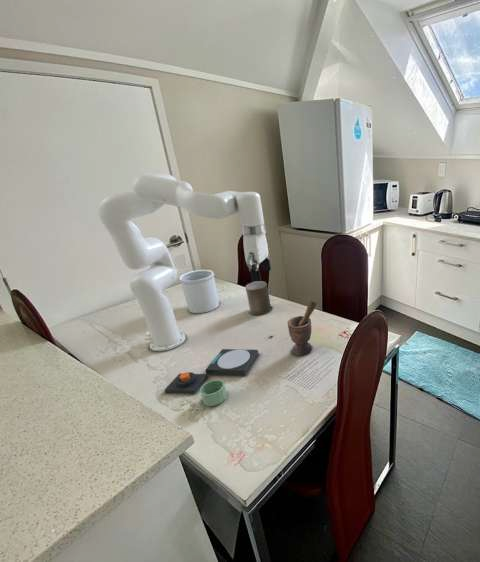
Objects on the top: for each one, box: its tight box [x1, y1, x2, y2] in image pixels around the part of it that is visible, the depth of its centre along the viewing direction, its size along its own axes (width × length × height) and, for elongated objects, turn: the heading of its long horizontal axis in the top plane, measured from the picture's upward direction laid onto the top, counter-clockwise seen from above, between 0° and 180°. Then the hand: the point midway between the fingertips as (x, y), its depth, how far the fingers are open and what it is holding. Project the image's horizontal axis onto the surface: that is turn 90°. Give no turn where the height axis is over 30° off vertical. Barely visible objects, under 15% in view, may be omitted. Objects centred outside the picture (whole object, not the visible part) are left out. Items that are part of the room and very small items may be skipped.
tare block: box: [164, 371, 209, 395], centre depth 105 cm, size 10×8×3 cm
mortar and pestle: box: [287, 299, 317, 356], centre depth 120 cm, size 12×9×20 cm
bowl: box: [199, 379, 228, 407], centre depth 98 cm, size 7×7×5 cm
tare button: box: [180, 372, 190, 382], centre depth 104 cm, size 3×3×2 cm
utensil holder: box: [178, 269, 220, 314], centre depth 153 cm, size 15×15×18 cm
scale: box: [205, 348, 260, 377], centre depth 114 cm, size 14×12×3 cm
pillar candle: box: [244, 280, 272, 316], centre depth 150 cm, size 10×10×15 cm
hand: (261, 275), depth 113 cm, fingers open, 9 cm apart
